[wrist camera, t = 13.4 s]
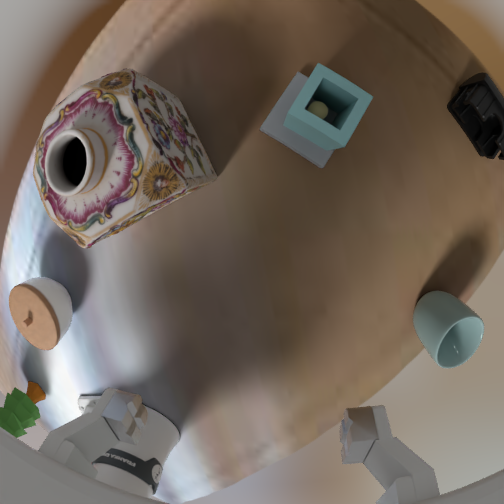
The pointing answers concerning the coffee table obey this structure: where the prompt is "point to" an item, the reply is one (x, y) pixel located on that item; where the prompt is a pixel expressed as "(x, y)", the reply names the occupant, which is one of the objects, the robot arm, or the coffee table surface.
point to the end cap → (480, 114)
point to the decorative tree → (21, 409)
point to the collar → (334, 97)
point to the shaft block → (289, 137)
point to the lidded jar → (41, 311)
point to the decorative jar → (116, 156)
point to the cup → (447, 328)
